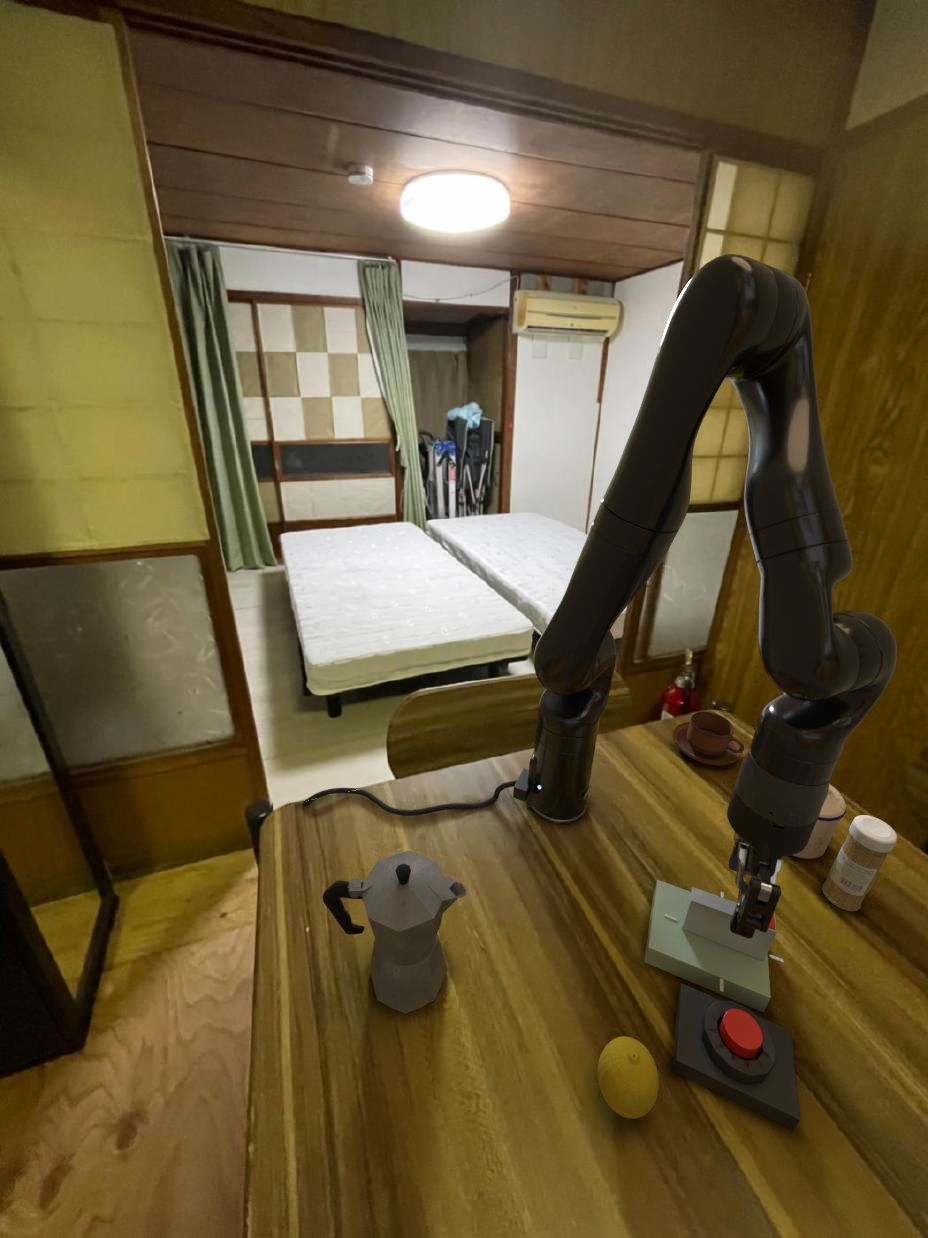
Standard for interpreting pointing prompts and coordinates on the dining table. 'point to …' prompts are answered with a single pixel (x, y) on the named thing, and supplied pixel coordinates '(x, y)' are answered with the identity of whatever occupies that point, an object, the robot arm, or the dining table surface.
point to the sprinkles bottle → (858, 862)
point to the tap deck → (702, 953)
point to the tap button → (741, 1033)
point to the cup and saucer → (708, 739)
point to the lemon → (628, 1077)
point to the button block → (735, 1058)
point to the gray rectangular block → (723, 924)
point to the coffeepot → (401, 925)
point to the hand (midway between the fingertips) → (738, 899)
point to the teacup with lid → (824, 825)
